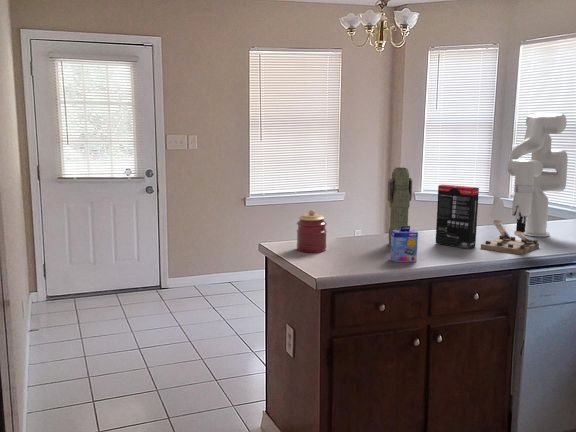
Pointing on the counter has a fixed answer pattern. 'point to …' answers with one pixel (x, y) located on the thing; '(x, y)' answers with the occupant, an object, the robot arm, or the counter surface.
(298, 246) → the canister
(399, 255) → the ink cartridge box
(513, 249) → the latch board
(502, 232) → the strap
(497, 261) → the counter surface
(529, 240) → the strap
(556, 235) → the counter surface
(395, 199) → the green statue
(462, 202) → the graphics card box
